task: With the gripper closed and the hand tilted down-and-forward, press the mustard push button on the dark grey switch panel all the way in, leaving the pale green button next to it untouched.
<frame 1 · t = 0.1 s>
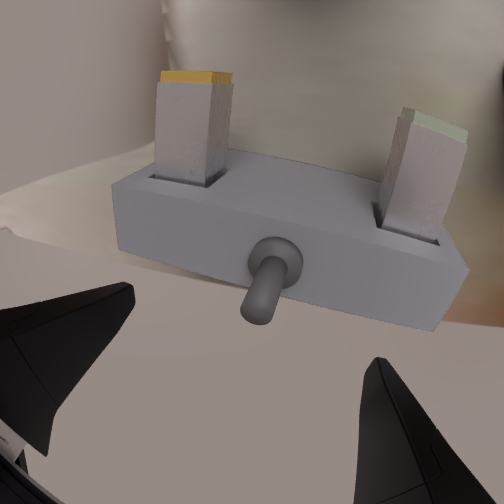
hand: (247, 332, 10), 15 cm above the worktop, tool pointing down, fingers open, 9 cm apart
mustard button: (192, 138, 15), point 6 cm above the worktop, slide at 0.0 cm
green button: (415, 187, 13), point 6 cm above the worktop, slide at 0.0 cm
switch panel: (303, 189, 22), on the worktop
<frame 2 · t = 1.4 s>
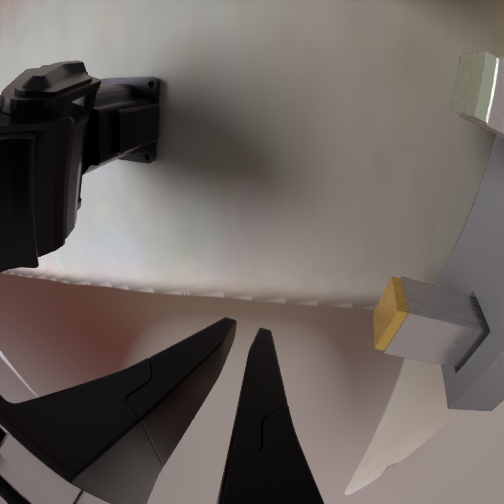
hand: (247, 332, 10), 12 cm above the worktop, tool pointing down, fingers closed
mustard button: (440, 326, 14), point 7 cm above the worktop, slide at 0.0 cm
switch panel: (495, 208, 15), on the worktop
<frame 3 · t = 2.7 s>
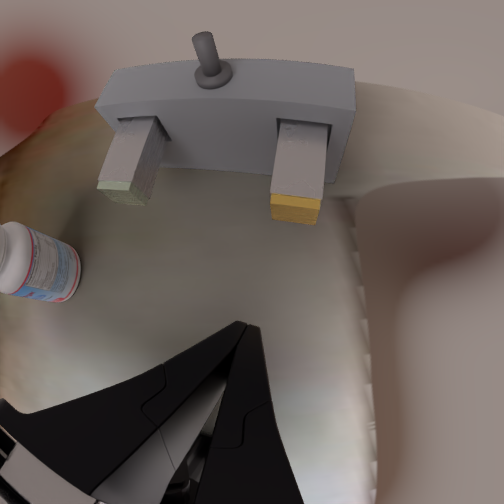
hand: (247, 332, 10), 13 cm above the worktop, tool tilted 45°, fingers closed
mustard button: (300, 160, 19), point 6 cm above the worktop, slide at 0.0 cm
green button: (136, 151, 20), point 6 cm above the worktop, slide at 0.0 cm
switch panel: (237, 152, 27), on the worktop
pill bottle: (63, 273, 26), on the worktop
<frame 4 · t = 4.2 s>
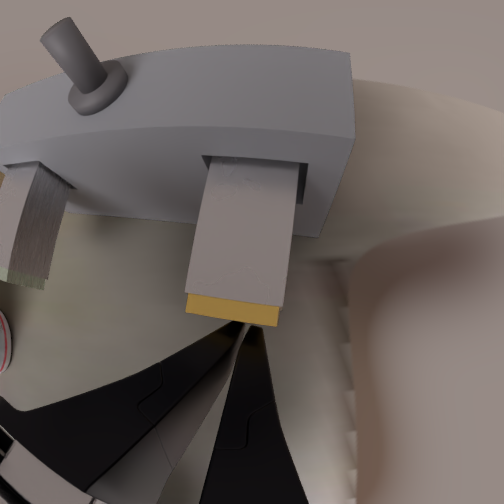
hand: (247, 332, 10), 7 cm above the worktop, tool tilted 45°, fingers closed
mustard button: (252, 215, 11), point 6 cm above the worktop, slide at 0.7 cm, touching gripper
green button: (27, 211, 12), point 6 cm above the worktop, slide at 0.0 cm
switch panel: (178, 192, 19), on the worktop
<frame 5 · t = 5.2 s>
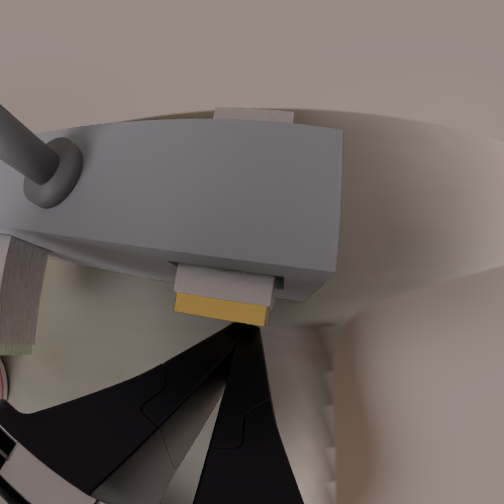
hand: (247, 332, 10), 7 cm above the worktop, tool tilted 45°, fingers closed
mustard button: (242, 215, 11), point 6 cm above the worktop, slide at 4.3 cm, touching gripper
green button: (8, 277, 12), point 7 cm above the worktop, slide at 0.0 cm
switch panel: (160, 247, 18), on the worktop
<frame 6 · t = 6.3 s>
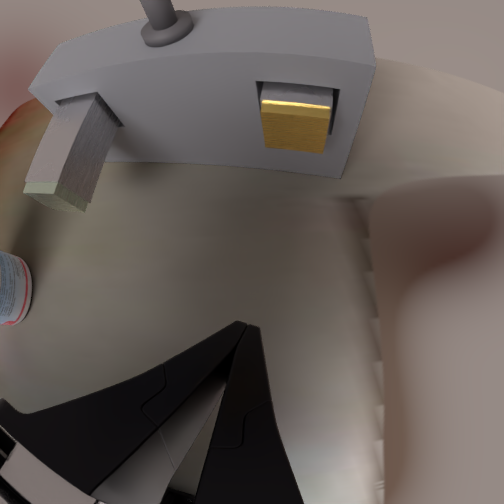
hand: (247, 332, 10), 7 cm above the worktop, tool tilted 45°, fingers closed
mustard button: (300, 77, 13), point 7 cm above the worktop, slide at 4.3 cm
green button: (76, 141, 14), point 7 cm above the worktop, slide at 0.0 cm
switch panel: (213, 140, 20), on the worktop
pill bottle: (16, 291, 20), on the worktop
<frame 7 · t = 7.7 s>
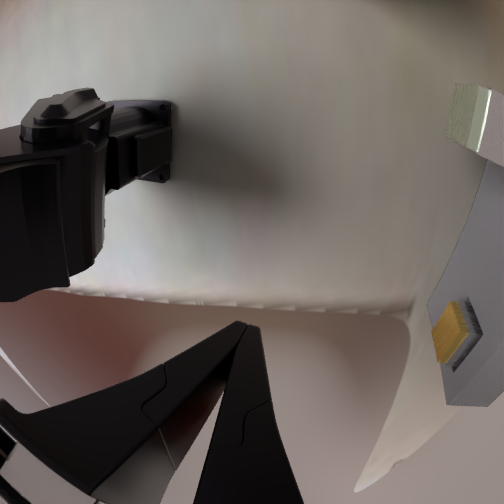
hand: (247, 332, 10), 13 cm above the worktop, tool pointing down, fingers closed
mustard button: (485, 339, 15), point 6 cm above the worktop, slide at 4.3 cm
switch panel: (489, 217, 17), on the worktop
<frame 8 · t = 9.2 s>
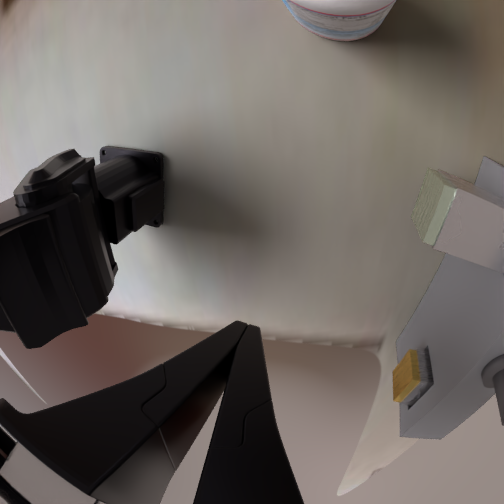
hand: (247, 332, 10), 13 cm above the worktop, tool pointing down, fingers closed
mustard button: (442, 381, 17), point 6 cm above the worktop, slide at 4.3 cm
green button: (486, 225, 11), point 6 cm above the worktop, slide at 0.0 cm
switch panel: (460, 269, 19), on the worktop
pill bottle: (336, 3, 13), on the worktop
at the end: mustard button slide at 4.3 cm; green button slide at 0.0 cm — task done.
